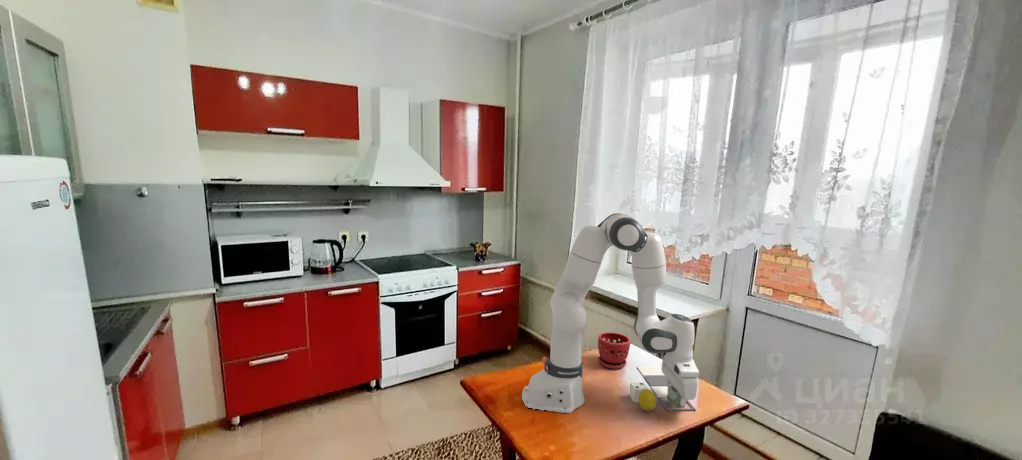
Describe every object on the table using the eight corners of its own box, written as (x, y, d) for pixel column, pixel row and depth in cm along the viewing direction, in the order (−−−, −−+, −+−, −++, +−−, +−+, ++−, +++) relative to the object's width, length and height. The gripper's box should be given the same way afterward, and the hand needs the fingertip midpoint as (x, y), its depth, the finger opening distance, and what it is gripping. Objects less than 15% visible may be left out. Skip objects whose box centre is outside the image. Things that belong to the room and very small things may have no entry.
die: (634, 402, 145) (634, 388, 144) (629, 394, 150) (630, 381, 149) (647, 402, 145) (648, 388, 144) (643, 394, 150) (643, 381, 149)
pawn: (672, 407, 142) (673, 383, 141) (666, 400, 146) (668, 377, 145) (684, 407, 142) (686, 383, 141) (679, 400, 147) (680, 377, 145)
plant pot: (621, 374, 165) (622, 346, 163) (591, 364, 173) (592, 337, 172) (633, 363, 175) (635, 336, 174) (605, 354, 183) (606, 329, 182)
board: (666, 411, 140) (666, 409, 140) (636, 367, 171) (636, 366, 171) (695, 410, 140) (695, 409, 140) (659, 367, 171) (659, 366, 171)
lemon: (656, 416, 136) (657, 394, 135) (638, 414, 137) (640, 392, 136) (653, 407, 142) (655, 386, 141) (637, 405, 143) (638, 384, 142)
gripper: (658, 348, 152) (656, 382, 154) (682, 374, 132) (679, 414, 134) (675, 348, 153) (672, 382, 154) (701, 374, 132) (698, 414, 134)
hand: (676, 397), depth 144 cm, fingers open, 8 cm apart
